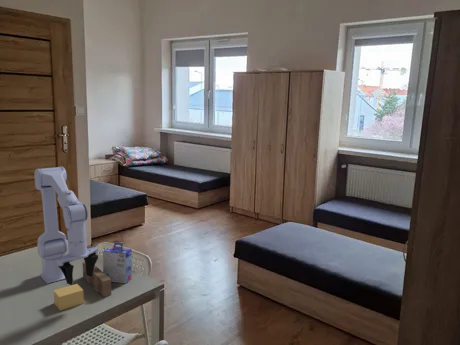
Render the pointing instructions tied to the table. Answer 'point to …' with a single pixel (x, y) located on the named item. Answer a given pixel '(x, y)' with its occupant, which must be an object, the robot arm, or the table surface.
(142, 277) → the table surface
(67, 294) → the ochre block
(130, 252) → the ink cartridge box
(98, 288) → the walnut block
